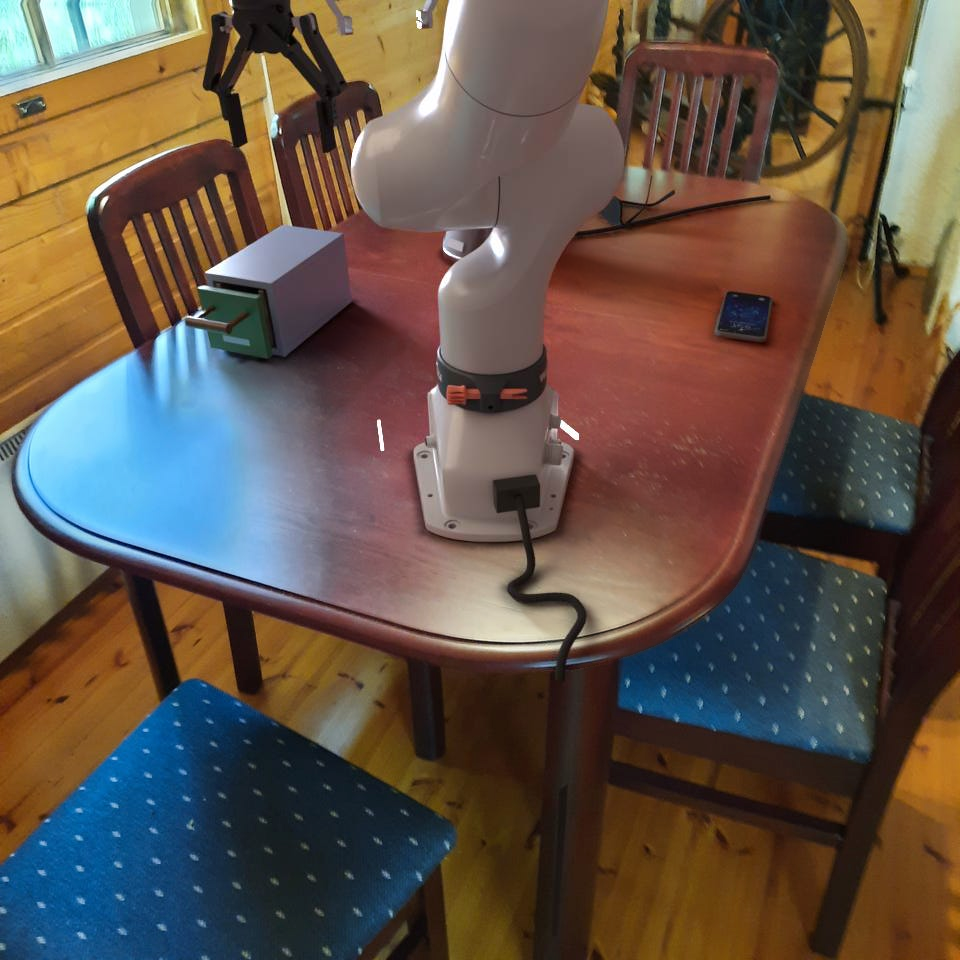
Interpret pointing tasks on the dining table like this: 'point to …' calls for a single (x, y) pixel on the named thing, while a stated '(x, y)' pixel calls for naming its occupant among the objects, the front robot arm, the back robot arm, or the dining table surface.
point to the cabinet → (292, 279)
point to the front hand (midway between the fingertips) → (385, 31)
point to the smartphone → (744, 316)
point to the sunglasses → (615, 208)
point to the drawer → (235, 319)
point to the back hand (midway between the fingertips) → (284, 147)
